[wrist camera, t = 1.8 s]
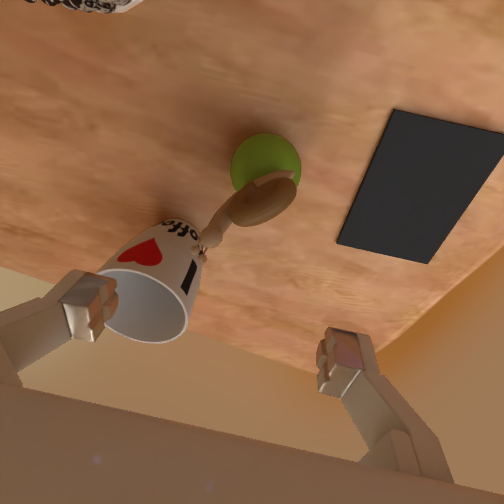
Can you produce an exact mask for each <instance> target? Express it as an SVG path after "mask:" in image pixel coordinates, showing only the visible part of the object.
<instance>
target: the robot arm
mask: <svg viewBox="0 0 504 504" xmlns="http://www.w3.org/2000/svg"><path fill="white" fill-rule="evenodd" d="M116 287H117V282H116V279H114V278H110V277H106V276H102V275H98V274H94V273H90V272H85V271H81V270H77V269H74V270H72V271H70V272H69V273H68V274H67V275H66V276H65V277H64V278H63V279H62V280H61V281H60V282H59V283H58V284H57V285H55V286H54V288H53V289H51V290H50V291H49V292H48V293H47V294H46V295H45V296H44V297H43V298H35V299H33V300H30V301H28V302H25V303H22V304H20V305H17V306H15V307H12V308H9V309H7V310H4V311H1V312H0V504H504V495H502V494H497V493H492V492H488V491H483V490H479V489H475V488H470V487H466V486H461V485H457V484H454V481H453V478H452V475H451V473H450V470H449V467H448V464H447V461H446V459H445V456H444V453H443V451H442V448H441V445H440V442H439V440H438V438H437V436H436V435H435V434H434V433H433V432H432V431H431V429H430V428H429V427H428V426H427V425H426V423H425V422H424V421H423V420H422V419H421V418H420V416H419V415H418V414H417V413H416V412H415V411H414V409H413V408H412V407H411V406H410V405H409V404H408V402H407V401H406V400H405V399H404V398H403V397H402V396H401V394H400V393H399V392H398V391H397V390H396V388H395V387H394V386H393V385H392V384H391V383H390V382H389V380H388V379H387V378H386V377H385V376H384V375H381V374H380V371H379V368H378V364H377V360H376V356H375V353H374V349H373V345H372V341H371V338H370V336H369V335H365V334H361V333H356V332H352V331H347V330H342V329H338V328H333V327H328V328H327V329H326V331H325V339H323V340H321V341H320V343H319V345H318V349H317V353H316V365H317V366H318V368H319V369H320V371H319V373H318V375H317V381H318V392H319V393H322V394H326V395H330V396H334V397H338V398H341V401H342V403H343V404H344V406H345V408H346V410H347V411H348V413H349V415H350V417H351V418H352V420H353V422H354V424H355V425H356V427H357V429H358V431H359V432H360V434H361V435H362V437H363V439H364V441H365V443H366V445H367V446H368V448H369V450H370V451H369V452H368V453H367V454H366V455H365V456H364V457H363V458H362V459H361V460H360V461H359V462H354V461H350V460H345V459H341V458H336V457H332V456H327V455H322V454H318V453H314V452H309V451H305V450H300V449H296V448H292V447H287V446H283V445H278V444H273V443H269V442H265V441H260V440H256V439H252V438H247V437H243V436H238V435H234V434H229V433H225V432H220V431H216V430H211V429H207V428H203V427H198V426H194V425H189V424H185V423H180V422H175V421H171V420H167V419H162V418H158V417H153V416H149V415H145V414H140V413H135V412H131V411H127V410H122V409H118V408H113V407H109V406H104V405H100V404H95V403H91V402H86V401H82V400H77V399H73V398H68V397H64V396H59V395H55V394H51V393H46V392H42V391H37V390H32V389H28V388H24V387H23V385H22V382H21V380H20V378H19V376H18V374H17V372H19V371H20V370H22V369H24V368H25V367H27V366H28V365H30V364H32V363H33V362H35V361H36V360H38V359H40V358H41V357H43V356H45V355H46V354H48V353H50V352H51V351H53V350H54V349H56V348H58V347H59V346H61V345H62V344H64V343H66V342H67V341H69V340H71V338H75V339H81V340H86V341H91V342H95V341H96V339H97V338H98V337H99V335H100V334H101V332H102V331H103V330H104V328H105V327H104V322H106V321H108V320H110V319H111V318H112V317H113V315H114V314H115V312H116V309H117V307H118V301H119V297H118V294H117V293H116V292H115V289H116Z"/></svg>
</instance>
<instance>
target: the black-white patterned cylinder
mask: <svg viewBox="0 0 504 504" xmlns="http://www.w3.org/2000/svg"><path fill="white" fill-rule="evenodd" d="M25 1H26V2H29V3H34V2H36V1H37V0H25ZM42 1H43V2H44V3H45V4H47V5H50V6H55V5H56V4H59V3H60V4H61V5H62V6H64V7H65V8H67V9H70V10H78V9H81V10H82V11H84V12H93V11H97V12H99V13H125V12H126V11H128V10H130V9H131V8H133V7H134V6H136V5H138V4H139V3H141V2H142V1H144V0H42Z"/></svg>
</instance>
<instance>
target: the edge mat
mask: <svg viewBox="0 0 504 504" xmlns="http://www.w3.org/2000/svg"><path fill="white" fill-rule="evenodd" d="M503 155H504V134H501V133H497V132H493V131H488V130H484V129H479V128H475V127H471V126H466V125H462V124H457V123H453V122H449V121H444V120H440V119H435V118H431V117H427V116H422V115H418V114H413V113H409V112H405V111H400V110H396V109H393V111H392V114H391V116H390V118H389V121H388V123H387V125H386V127H385V130H384V132H383V134H382V137H381V139H380V141H379V144H378V146H377V148H376V151H375V153H374V155H373V158H372V160H371V162H370V165H369V167H368V169H367V172H366V174H365V176H364V179H363V181H362V183H361V186H360V188H359V190H358V193H357V195H356V197H355V199H354V202H353V204H352V206H351V209H350V211H349V213H348V216H347V218H346V220H345V223H344V225H343V227H342V230H341V232H340V234H339V237H338V239H337V241H336V243H337V244H340V245H344V246H349V247H353V248H357V249H362V250H366V251H371V252H375V253H380V254H384V255H388V256H393V257H397V258H402V259H406V260H411V261H415V262H419V263H424V264H428V263H429V262H430V260H431V259H432V257H433V256H434V254H435V253H436V252H437V250H438V249H439V247H440V246H441V244H442V243H443V241H444V240H445V239H446V237H447V236H448V234H449V233H450V231H451V230H452V229H453V227H454V226H455V224H456V223H457V221H458V220H459V218H460V217H461V216H462V214H463V213H464V211H465V210H466V208H467V207H468V206H469V204H470V203H471V201H472V200H473V198H474V197H475V195H476V194H477V193H478V191H479V190H480V188H481V187H482V185H483V184H484V182H485V181H486V180H487V178H488V177H489V175H490V174H491V172H492V171H493V170H494V168H495V167H496V165H497V164H498V162H499V161H500V159H501V158H502V157H503Z"/></svg>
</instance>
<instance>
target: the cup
mask: <svg viewBox="0 0 504 504" xmlns="http://www.w3.org/2000/svg"><path fill="white" fill-rule="evenodd" d="M199 240H200V233H199V232H198V230H197V229H196V228H195V227H194V226H193V225H191V224H190V223H188V222H186V221H183V220H180V219H168V220H165V221H163V222H161V223H158V224H156V225H154V226H152V227H149V228H148V229H146V230H145V231H143V232H142V233H141V234H139V235H138V236H136V237H135V238H134V239H132V240H131V241H130V242H128V243H127V244H126V245H124V246H123V247H122V248H121V249H120V250H119V251H118V252H117V253H116V254H115V255H114V256H113V257H112V258H110V259H109V260H108V261H107V262H106V263H105V264H104V265H103V266H102V267H101V268H100V269H99V270H98V271H97V272H96V273H95V274H98V275H102V276H106V277H110V278H114V279H116V282H117V287H116V289H115V292H116V293H117V294H118V297H119V301H118V307H117V309H116V312H115V314H114V315H113V317H112V318H111V319H110V320H108V321H106V322H104V325H105V326H106V327H108V328H109V329H111V330H112V331H114V332H116V333H118V334H120V335H122V336H124V337H126V338H129V339H132V340H135V341H139V342H144V343H164V342H169V341H172V340H174V339H176V338H178V337H179V336H180V335H182V333H183V332H184V331H185V329H186V327H187V324H188V321H189V318H190V315H191V311H192V308H193V305H194V302H195V299H196V296H197V293H198V289H199V284H200V278H201V272H202V266H203V264H201V263H199V262H198V259H197V257H198V256H199V255H200V254H203V246H202V244H201V243H199V244H198V247H199V248H200V252H199V254H197V255H193V254H192V253H191V251H190V249H191V247H192V246H196V245H197V243H198V242H199Z"/></svg>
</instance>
